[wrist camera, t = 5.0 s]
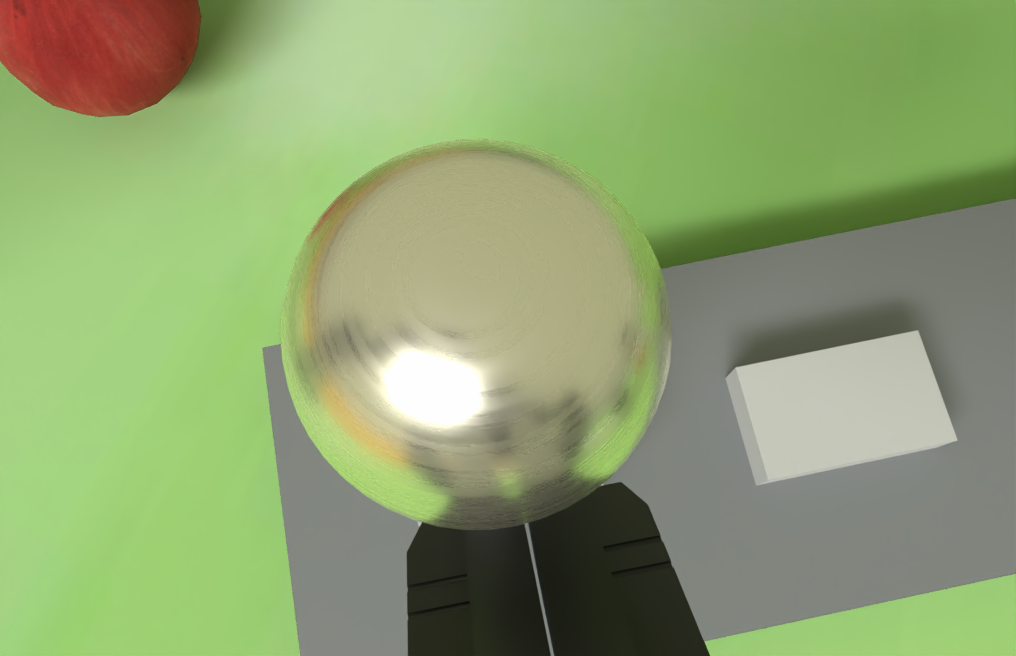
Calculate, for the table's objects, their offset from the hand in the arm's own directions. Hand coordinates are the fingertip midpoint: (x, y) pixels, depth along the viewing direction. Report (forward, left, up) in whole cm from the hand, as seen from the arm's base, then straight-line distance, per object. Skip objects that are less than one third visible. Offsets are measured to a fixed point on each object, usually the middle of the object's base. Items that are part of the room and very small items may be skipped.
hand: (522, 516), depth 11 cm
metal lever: (-2, +1, -10) cm, 11 cm away
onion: (-20, +2, -14) cm, 24 cm away
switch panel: (+3, +8, -13) cm, 16 cm away
